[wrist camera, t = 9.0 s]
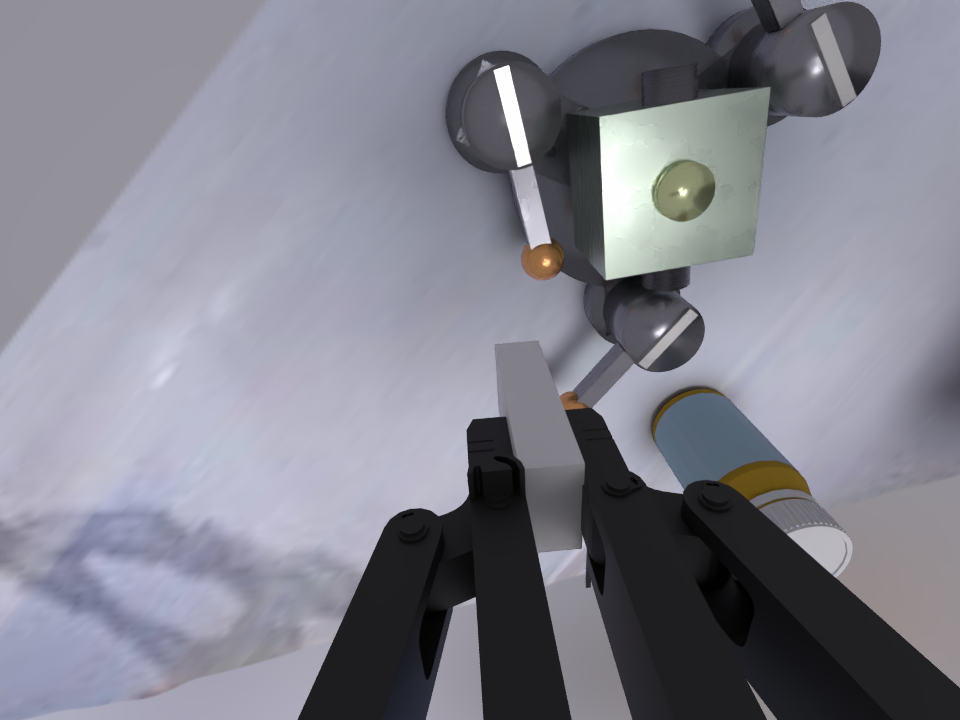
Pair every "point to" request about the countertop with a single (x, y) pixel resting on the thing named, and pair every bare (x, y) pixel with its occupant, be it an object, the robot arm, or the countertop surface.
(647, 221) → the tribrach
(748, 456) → the bottle
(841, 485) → the countertop surface
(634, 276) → the foot screw
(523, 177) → the foot screw
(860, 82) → the foot screw
